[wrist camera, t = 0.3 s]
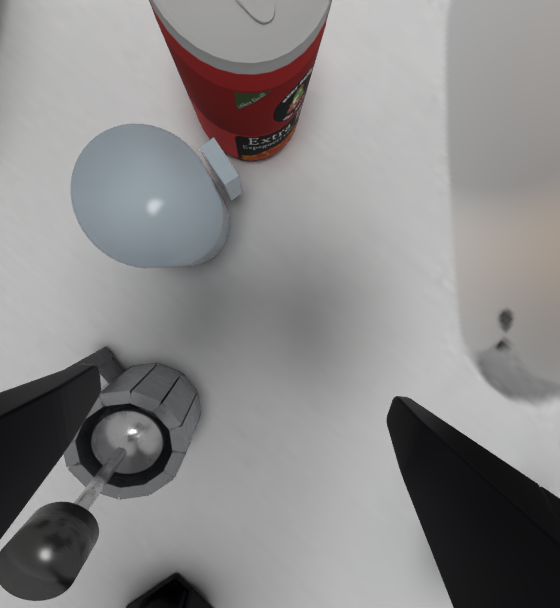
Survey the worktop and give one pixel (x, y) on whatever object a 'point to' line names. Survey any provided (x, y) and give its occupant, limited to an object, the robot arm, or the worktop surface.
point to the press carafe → (150, 398)
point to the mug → (152, 197)
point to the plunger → (77, 511)
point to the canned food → (244, 65)
